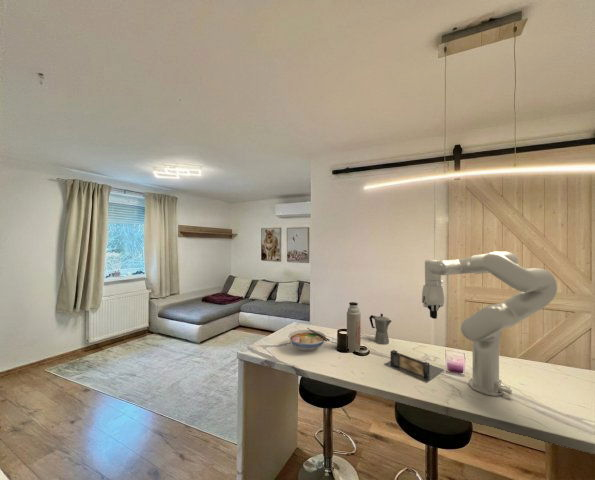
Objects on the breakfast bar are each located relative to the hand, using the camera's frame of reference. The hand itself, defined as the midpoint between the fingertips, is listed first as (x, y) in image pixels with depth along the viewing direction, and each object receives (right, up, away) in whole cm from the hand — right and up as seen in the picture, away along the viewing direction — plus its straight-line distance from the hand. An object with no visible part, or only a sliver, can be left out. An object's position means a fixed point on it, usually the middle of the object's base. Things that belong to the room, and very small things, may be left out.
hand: (433, 317), depth 137 cm
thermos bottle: (-39, -24, +17) cm, 49 cm away
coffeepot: (-18, -25, +31) cm, 43 cm away
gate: (-16, -23, -8) cm, 29 cm away
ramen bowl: (-66, -25, +20) cm, 73 cm away
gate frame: (-12, -24, -4) cm, 27 cm away
